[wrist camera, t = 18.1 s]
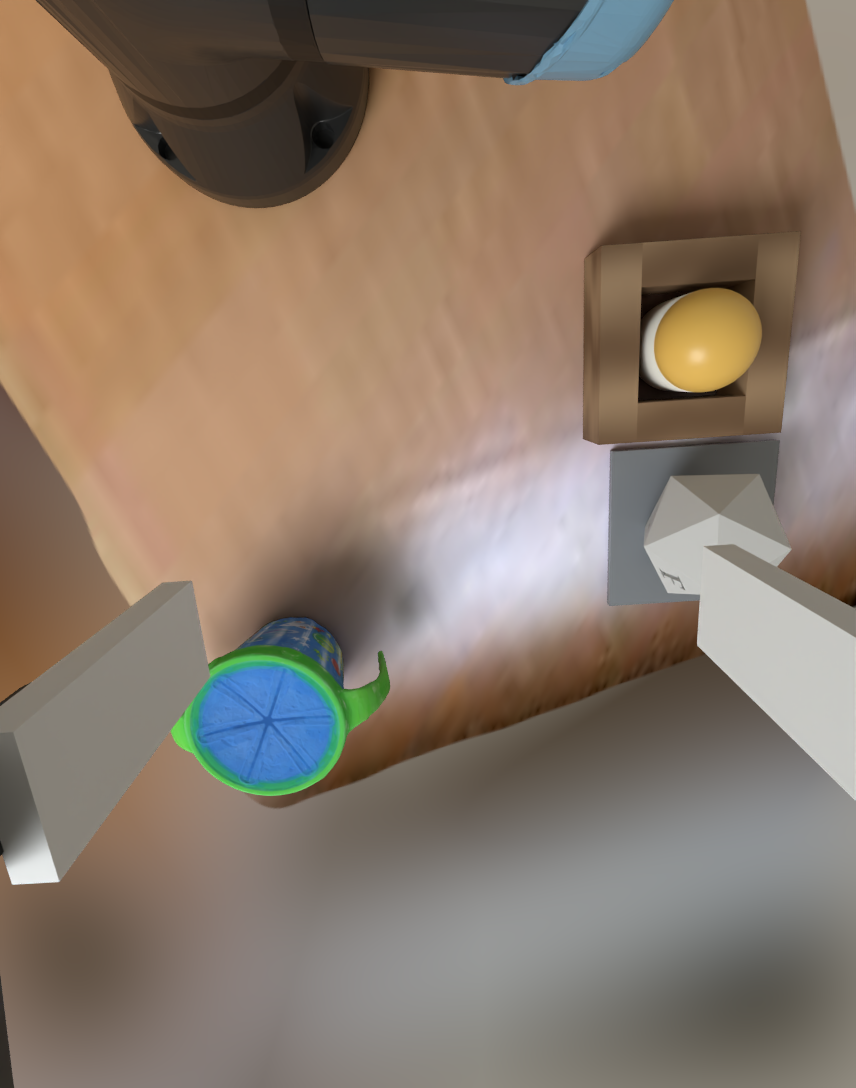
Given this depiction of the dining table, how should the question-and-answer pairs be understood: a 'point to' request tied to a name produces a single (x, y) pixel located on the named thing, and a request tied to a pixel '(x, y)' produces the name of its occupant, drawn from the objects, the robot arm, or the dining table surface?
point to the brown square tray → (684, 266)
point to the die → (710, 525)
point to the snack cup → (277, 710)
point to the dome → (699, 341)
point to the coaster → (638, 492)
